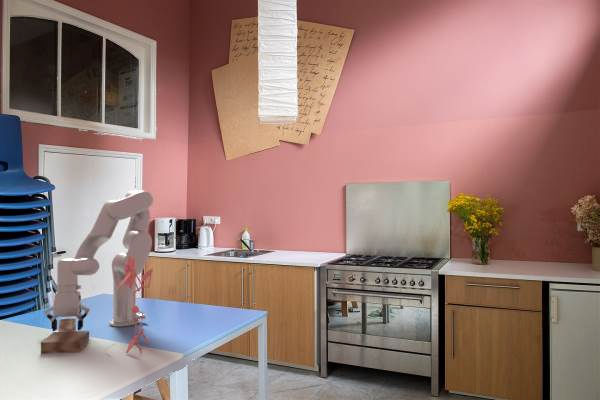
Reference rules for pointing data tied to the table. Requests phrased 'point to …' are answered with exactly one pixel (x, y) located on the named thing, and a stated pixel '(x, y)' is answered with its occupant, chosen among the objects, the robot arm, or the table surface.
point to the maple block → (67, 324)
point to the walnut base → (65, 342)
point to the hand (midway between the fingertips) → (67, 329)
